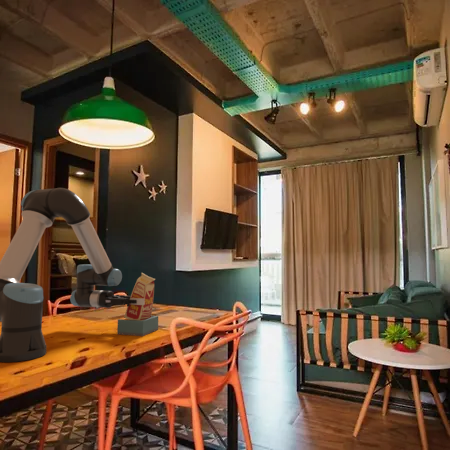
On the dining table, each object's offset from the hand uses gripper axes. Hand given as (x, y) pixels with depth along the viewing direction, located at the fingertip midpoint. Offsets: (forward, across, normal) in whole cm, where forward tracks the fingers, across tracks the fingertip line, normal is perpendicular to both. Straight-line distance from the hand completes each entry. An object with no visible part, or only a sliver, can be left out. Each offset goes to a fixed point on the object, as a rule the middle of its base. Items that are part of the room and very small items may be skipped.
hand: (148, 300), depth 153 cm
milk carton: (-5, -1, -8) cm, 10 cm away
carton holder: (-5, 0, -14) cm, 14 cm away
